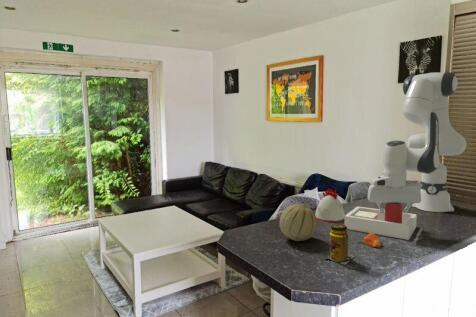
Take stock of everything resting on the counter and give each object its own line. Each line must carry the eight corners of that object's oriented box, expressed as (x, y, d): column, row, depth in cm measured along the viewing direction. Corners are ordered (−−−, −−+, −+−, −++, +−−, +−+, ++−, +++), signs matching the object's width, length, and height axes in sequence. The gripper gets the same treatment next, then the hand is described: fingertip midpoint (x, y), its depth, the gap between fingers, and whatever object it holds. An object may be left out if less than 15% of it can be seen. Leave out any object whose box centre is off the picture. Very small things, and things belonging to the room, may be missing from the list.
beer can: (403, 232, 134) (404, 204, 133) (386, 232, 136) (386, 203, 134) (399, 227, 140) (400, 200, 139) (383, 226, 142) (383, 199, 141)
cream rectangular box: (359, 221, 150) (359, 210, 150) (377, 224, 146) (378, 213, 145) (353, 226, 144) (354, 215, 143) (372, 229, 139) (373, 218, 139)
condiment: (325, 259, 114) (325, 226, 112) (335, 251, 120) (335, 220, 119) (345, 265, 109) (345, 230, 108) (355, 256, 115) (355, 223, 114)
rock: (376, 255, 117) (376, 244, 117) (349, 244, 128) (349, 234, 127) (396, 247, 123) (397, 237, 123) (369, 238, 134) (369, 228, 133)
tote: (357, 219, 156) (357, 206, 155) (416, 229, 141) (416, 214, 140) (344, 230, 142) (344, 216, 141) (408, 242, 127) (409, 226, 126)
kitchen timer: (334, 226, 148) (334, 193, 146) (309, 219, 158) (309, 189, 156) (350, 219, 157) (351, 188, 155) (326, 213, 167) (326, 184, 166)
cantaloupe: (273, 236, 137) (272, 201, 135) (302, 231, 142) (302, 197, 141) (292, 249, 123) (292, 210, 121) (324, 242, 129) (324, 205, 127)
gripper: (418, 179, 137) (417, 211, 138) (367, 178, 141) (366, 210, 142) (424, 182, 131) (423, 215, 132) (370, 181, 134) (369, 214, 136)
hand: (393, 212), depth 137 cm, fingers open, 8 cm apart
